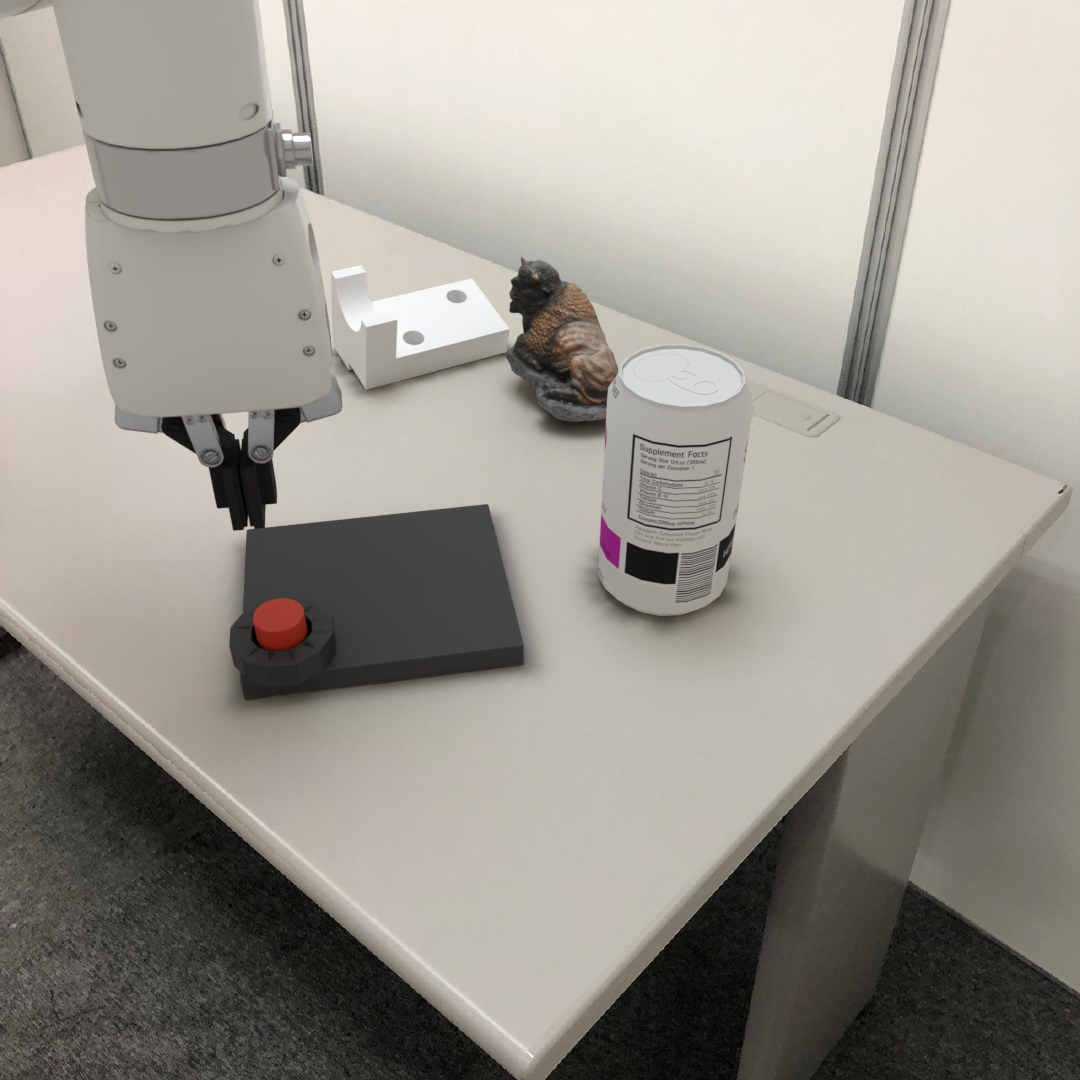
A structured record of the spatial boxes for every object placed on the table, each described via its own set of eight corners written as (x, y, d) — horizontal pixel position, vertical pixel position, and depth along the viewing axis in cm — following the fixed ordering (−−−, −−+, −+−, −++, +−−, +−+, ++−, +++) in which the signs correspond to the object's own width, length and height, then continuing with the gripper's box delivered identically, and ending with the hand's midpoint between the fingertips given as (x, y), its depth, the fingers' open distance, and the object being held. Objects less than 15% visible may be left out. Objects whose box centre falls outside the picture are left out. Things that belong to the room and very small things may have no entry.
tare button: (256, 655, 59) (252, 634, 59) (257, 621, 62) (253, 600, 61) (307, 648, 60) (304, 628, 59) (307, 615, 62) (303, 594, 61)
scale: (237, 712, 60) (227, 672, 58) (244, 548, 71) (236, 509, 69) (526, 675, 62) (526, 634, 60) (488, 522, 74) (487, 483, 72)
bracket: (365, 398, 88) (366, 327, 82) (332, 343, 92) (330, 271, 86) (505, 360, 93) (515, 290, 88) (468, 310, 97) (475, 240, 91)
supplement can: (571, 579, 69) (577, 373, 60) (655, 524, 74) (673, 325, 64) (668, 642, 65) (691, 430, 55) (751, 580, 69) (786, 374, 60)
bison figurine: (638, 423, 84) (646, 304, 78) (560, 447, 81) (562, 326, 75) (559, 358, 92) (561, 245, 86) (486, 378, 89) (482, 263, 83)
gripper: (362, 129, 49) (388, 462, 61) (15, 141, 47) (110, 484, 58) (372, 190, 43) (398, 545, 55) (-23, 207, 41) (90, 573, 52)
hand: (250, 513), depth 56 cm, fingers closed
